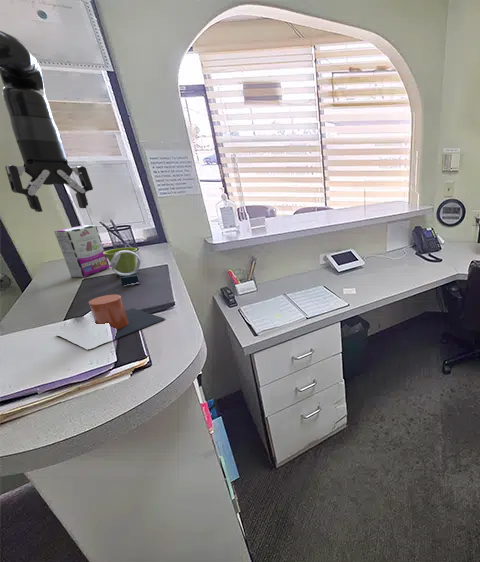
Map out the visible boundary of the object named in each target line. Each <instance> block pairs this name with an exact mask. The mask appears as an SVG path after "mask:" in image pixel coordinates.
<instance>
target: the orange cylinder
mask: <svg viewBox="0 0 480 562" xmlns="http://www.w3.org/2000/svg"><path fill="white" fill-rule="evenodd" d="M88 305H89V308H90V309H89V310H90V311H91V314H92V318H93V320H94V321H95V323H96V324H105V323H109V324H110V326H111V327H113V328H116V329H117V330H118V329H121V328H123V327H125V326H127V325H128V323H129V322H128V318H127V315H126V312H125V311H126V308H125V305H124V302H123V299H122V295H120V294H107V295H102V296H97V297H94V298H92V299H90V300H89V301H88Z"/></svg>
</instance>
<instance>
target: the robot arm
mask: <svg viewBox="0 0 480 562" xmlns="http://www.w3.org/2000/svg"><path fill="white" fill-rule="evenodd" d="M0 78H1V82H2V84H3V88H2V91H1V93H2V99H3V101H4V105H5V108H6V110H7V113H8V115H9V119H10V126H11V129H12V133H13V136H14V138H15V141H16V144H17V146H18V149H19V150H18V151H19V152H20V155H21V158H22V162H23V166H19V165H14V164H13V165H12V164H9V165H8V164H7V165H5V167H4V168H5V171H6V175H7V178H8V182H9V185H10V190H11V192H13V193H16V194H20V195H23V196H25V197H26V200H27V203H28V205H29V208H30V209H31V210H34V211H35V213H41V212H42V213H43V207H42V205H41V202H40V199H39V196H38V195H36V194H37V192H38V190H39V189H40V188H42V186H43V185H46V186H52V185H65V186H67V187H68V188H70V189H72V191H74V192H75V193H74V195H75V197H76V201H77V204H78V207H79V209H87V207H88V205H89V202H88V199H87V195H86V193H87V192H90V191H93V189H94V187H93V184H92V182H91V179H90V176H89V173H88V170H87V168H86V166H84V165H77V166H71V165H70V164H69V162H68V157H67V155H66V151H65V148H64V145H63V141H62V136H61V134H60V131H59V129H58V127H57V125H56V123H55V120H54V117H53V112H52V110H51V107H50V103H49V101H48V98H47V96H46V90H45V85H44V84H45V83H44V79H43V78H44V77H43V74H42V69H41V67H40V63H39V61H38V59H37V57H36V55H34V53H33V52H32V51H31V50H30V49H29V47H27V46H26V44H24V43H23V41H21V40H19V39H18V38H16V37H15V36H13V35H11V34H9V33H7V32H4V31H3V30H0ZM23 172H25V174H27V175H28V176H30V179H29V181H28V182H27V185H26V187H25V188H23V183H22V180H21V176H23ZM73 173H74V174H75V175H76V176H78V179H79V181H80V184H81V185H80V184H79V183H78V182H77V181H76V180H74V179H73V178H72V177H71V175H72V174H73Z"/></svg>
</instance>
